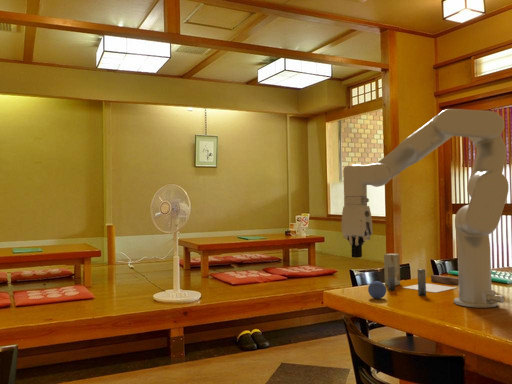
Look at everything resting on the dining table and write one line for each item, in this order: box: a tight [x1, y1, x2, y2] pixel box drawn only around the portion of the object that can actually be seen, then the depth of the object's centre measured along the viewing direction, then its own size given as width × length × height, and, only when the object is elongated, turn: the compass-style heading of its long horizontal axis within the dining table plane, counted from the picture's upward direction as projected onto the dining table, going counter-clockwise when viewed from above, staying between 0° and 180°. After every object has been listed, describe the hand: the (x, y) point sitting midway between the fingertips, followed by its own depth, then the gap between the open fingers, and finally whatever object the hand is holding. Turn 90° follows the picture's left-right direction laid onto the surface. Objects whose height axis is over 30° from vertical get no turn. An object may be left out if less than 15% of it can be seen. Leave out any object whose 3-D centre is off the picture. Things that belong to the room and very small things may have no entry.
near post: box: [417, 268, 427, 297], centre depth 165 cm, size 3×3×9 cm
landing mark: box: [402, 283, 457, 294], centre depth 178 cm, size 14×14×1 cm
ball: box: [367, 280, 387, 300], centre depth 161 cm, size 6×6×6 cm
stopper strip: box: [430, 274, 459, 286], centre depth 187 cm, size 16×2×2 cm, turn 36°
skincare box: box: [383, 253, 401, 287], centre depth 188 cm, size 6×4×12 cm
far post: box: [387, 266, 396, 292], centre depth 176 cm, size 3×3×9 cm
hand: (356, 257), depth 156 cm, fingers closed
